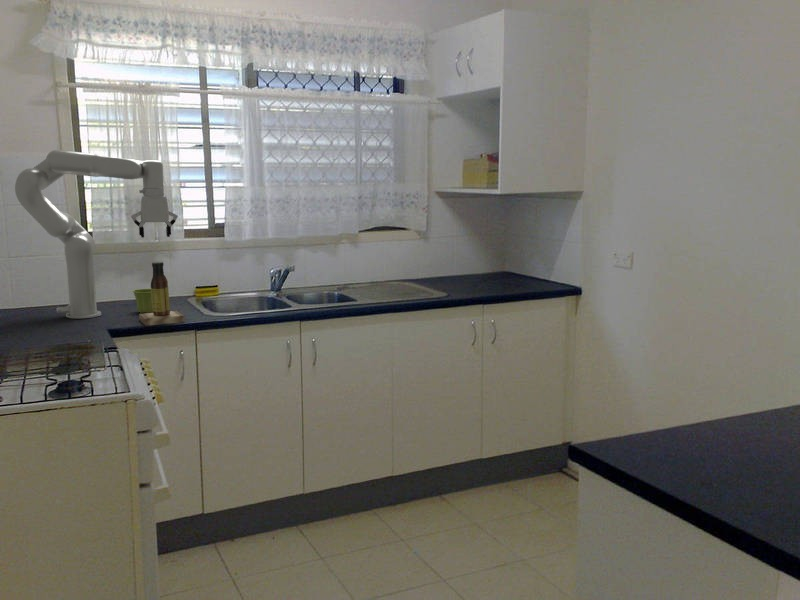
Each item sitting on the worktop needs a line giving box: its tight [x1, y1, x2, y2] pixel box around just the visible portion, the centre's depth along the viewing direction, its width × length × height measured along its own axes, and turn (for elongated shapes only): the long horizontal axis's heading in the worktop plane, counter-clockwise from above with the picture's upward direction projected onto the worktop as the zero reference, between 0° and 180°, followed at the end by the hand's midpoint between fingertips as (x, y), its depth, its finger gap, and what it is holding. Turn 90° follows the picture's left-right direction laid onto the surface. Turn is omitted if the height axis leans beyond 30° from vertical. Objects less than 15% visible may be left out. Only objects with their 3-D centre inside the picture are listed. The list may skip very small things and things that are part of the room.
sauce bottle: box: [150, 261, 171, 316], centre depth 278 cm, size 7×6×20 cm
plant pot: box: [132, 288, 153, 314], centre depth 298 cm, size 9×9×9 cm
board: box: [138, 310, 185, 327], centre depth 279 cm, size 14×11×2 cm
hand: (155, 237), depth 291 cm, fingers open, 9 cm apart
